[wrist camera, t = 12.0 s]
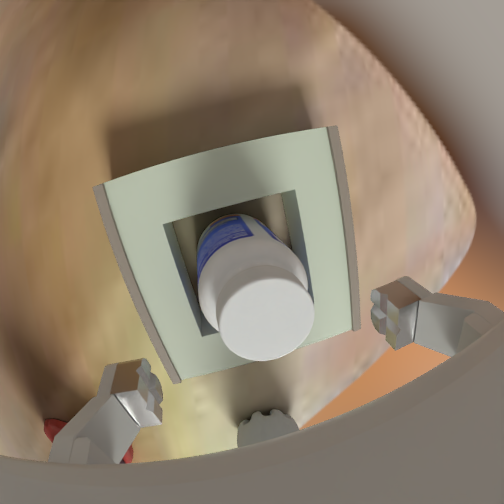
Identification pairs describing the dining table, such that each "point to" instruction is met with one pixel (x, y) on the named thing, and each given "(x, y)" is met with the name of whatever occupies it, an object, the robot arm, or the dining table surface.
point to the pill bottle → (252, 288)
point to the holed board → (221, 195)
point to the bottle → (265, 427)
